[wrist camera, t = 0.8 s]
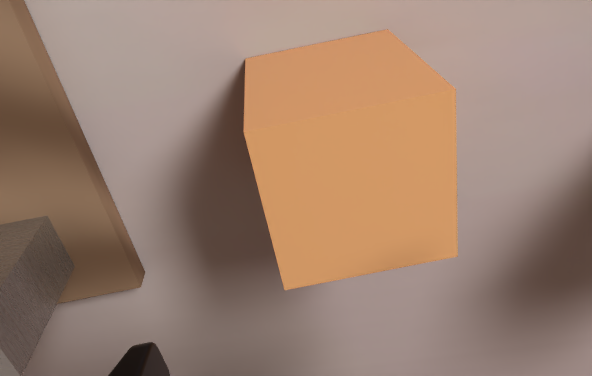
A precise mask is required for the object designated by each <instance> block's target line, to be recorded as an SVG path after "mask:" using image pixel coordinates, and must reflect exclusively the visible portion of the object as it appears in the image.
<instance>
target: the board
mask: <svg viewBox="0 0 592 376" xmlns="http://www.w3.org/2000/svg"><path fill="white" fill-rule="evenodd" d="M46 215H48V217H49V219H50V221H51V223H52V225H53V226H54V228H55V230H56V232H57V234H58V236H59V238H60V239H61V241H62V243H63V245H64V247H65V249H66V251H67V252H68V254H69V256H70V258H71V260H72V262H73V264H74V265H75V267H74V269H73V271H72V273H71V275H70V277H69V280H68V282H67V284H66V286H65V288H64V290H63V292H62V294H61V296H60V298H59V300H58V302H57V304H58V303H63V302H68V301H74V300H79V299H84V298H89V297H94V296H99V295H104V294H109V293H114V292H119V291H124V290H129V289H134V288H139V287H141V285H142V282H143V278H144V275H145V271H144V268H143V266H142V264H141V262H140V260H139V257H138V255H137V253H136V251H135V248H134V246H133V244H132V242H131V239H130V237H129V235H128V233H127V230H126V228H125V226H124V224H123V221H122V219H121V217H120V215H119V212H118V210H117V208H116V206H115V203H114V201H113V199H112V197H111V194H110V192H109V190H108V188H107V185H106V183H105V181H104V179H103V177H102V174H101V172H100V170H99V168H98V165H97V163H96V161H95V159H94V156H93V154H92V152H91V150H90V147H89V145H88V143H87V141H86V138H85V136H84V134H83V132H82V129H81V127H80V125H79V123H78V120H77V118H76V116H75V114H74V111H73V109H72V107H71V105H70V103H69V100H68V98H67V96H66V94H65V91H64V89H63V87H62V85H61V82H60V80H59V78H58V76H57V73H56V71H55V69H54V67H53V64H52V62H51V60H50V58H49V55H48V53H47V51H46V49H45V46H44V44H43V42H42V40H41V37H40V35H39V33H38V31H37V28H36V26H35V24H34V22H33V20H32V17H31V15H30V13H29V11H28V8H27V6H26V4H25V2H24V0H0V225H2V224H7V223H12V222H17V221H22V220H27V219H32V218H37V217H42V216H46Z"/></svg>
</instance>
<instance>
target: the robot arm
mask: <svg viewBox="0 0 592 376" xmlns="http://www.w3.org/2000/svg"><path fill="white" fill-rule="evenodd" d="M108 376H170V373H169V370H168V367H167V365H166V363H165V361H164V359H163V357H162V355H161V353H160V351H159V349H158V347H157V346H156V344H155V343H153V342H149V343H144V344H139V345H135V346H132V347H131V348H130V349H129V350H128V351H127V353H126V354H125V355H124V356H123V358H122V359H121V360H120V361H119V363H118V364H117V365H116V367H115V368H114V369H113V370H112V372H111V373H110V374H109V375H108Z"/></svg>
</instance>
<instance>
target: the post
mask: <svg viewBox="0 0 592 376" xmlns="http://www.w3.org/2000/svg"><path fill="white" fill-rule="evenodd" d="M74 267H75V265H74V264H73V262H72V260H71V258H70V256H69V254H68V252H67V251H66V249H65V247H64V245H63V243H62V241H61V239H60V238H59V236H58V234H57V232H56V230H55V228H54V226H53V225H52V223H51V221H50V219H49V217H48V215H46V216H42V217H37V218H32V219H27V220H22V221H17V222H12V223H7V224H2V225H0V376H22V374H23V372H24V370H25V368H26V366H27V364H28V362H29V360H30V358H31V356H32V354H33V352H34V349H35V347H36V345H37V343H38V341H39V339H40V337H41V335H42V333H43V331H44V329H45V327H46V325H47V323H48V321H49V319H50V317H51V314H52V312H53V310H54V308H55V306H56V304H57V302H58V300H59V298H60V296H61V294H62V292H63V290H64V288H65V286H66V284H67V282H68V280H69V277H70V275H71V273H72V271H73V269H74Z"/></svg>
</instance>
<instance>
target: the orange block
mask: <svg viewBox="0 0 592 376" xmlns="http://www.w3.org/2000/svg"><path fill="white" fill-rule="evenodd" d="M244 136H245V139H246V143H247V147H248V151H249V155H250V159H251V163H252V166H253V170H254V174H255V178H256V182H257V186H258V190H259V194H260V197H261V201H262V205H263V209H264V213H265V217H266V221H267V224H268V228H269V232H270V236H271V240H272V244H273V248H274V252H275V255H276V259H277V263H278V267H279V271H280V275H281V279H282V282H283V286H284V290H289V289H294V288H299V287H304V286H309V285H314V284H319V283H324V282H329V281H335V280H340V279H345V278H350V277H355V276H360V275H365V274H370V273H375V272H381V271H386V270H391V269H396V268H401V267H406V266H411V265H416V264H421V263H426V262H432V261H437V260H442V259H447V258H452V257H457V256H458V243H457V155H456V89H455V88H454V87H453V86H452V85H451V84H449V83H448V82H447V81H446V80H445V79H444V78H443V77H441V76H440V75H439V74H438V73H437V72H436V71H435V70H433V69H432V68H431V67H430V66H429V65H428V64H427V63H426V62H424V61H423V60H422V59H421V58H420V57H419V56H418V55H416V54H415V53H414V52H413V51H412V50H411V49H410V48H408V47H407V46H406V45H405V44H404V43H403V42H402V41H400V40H399V39H398V38H397V37H396V36H395V35H394V34H393V33H391V32H390V31H389V30H388V29H387V30H382V31H377V32H372V33H367V34H362V35H358V36H353V37H348V38H343V39H338V40H333V41H328V42H324V43H319V44H314V45H309V46H304V47H299V48H294V49H289V50H285V51H280V52H275V53H270V54H265V55H260V56H255V57H251V58H246V59H245V96H244Z"/></svg>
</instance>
